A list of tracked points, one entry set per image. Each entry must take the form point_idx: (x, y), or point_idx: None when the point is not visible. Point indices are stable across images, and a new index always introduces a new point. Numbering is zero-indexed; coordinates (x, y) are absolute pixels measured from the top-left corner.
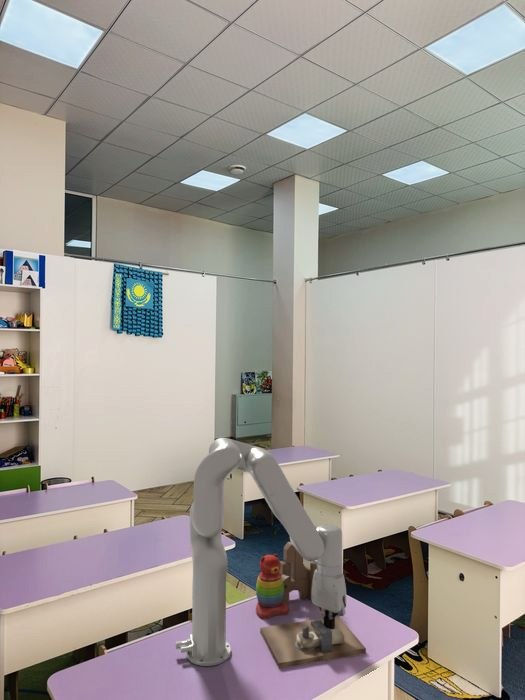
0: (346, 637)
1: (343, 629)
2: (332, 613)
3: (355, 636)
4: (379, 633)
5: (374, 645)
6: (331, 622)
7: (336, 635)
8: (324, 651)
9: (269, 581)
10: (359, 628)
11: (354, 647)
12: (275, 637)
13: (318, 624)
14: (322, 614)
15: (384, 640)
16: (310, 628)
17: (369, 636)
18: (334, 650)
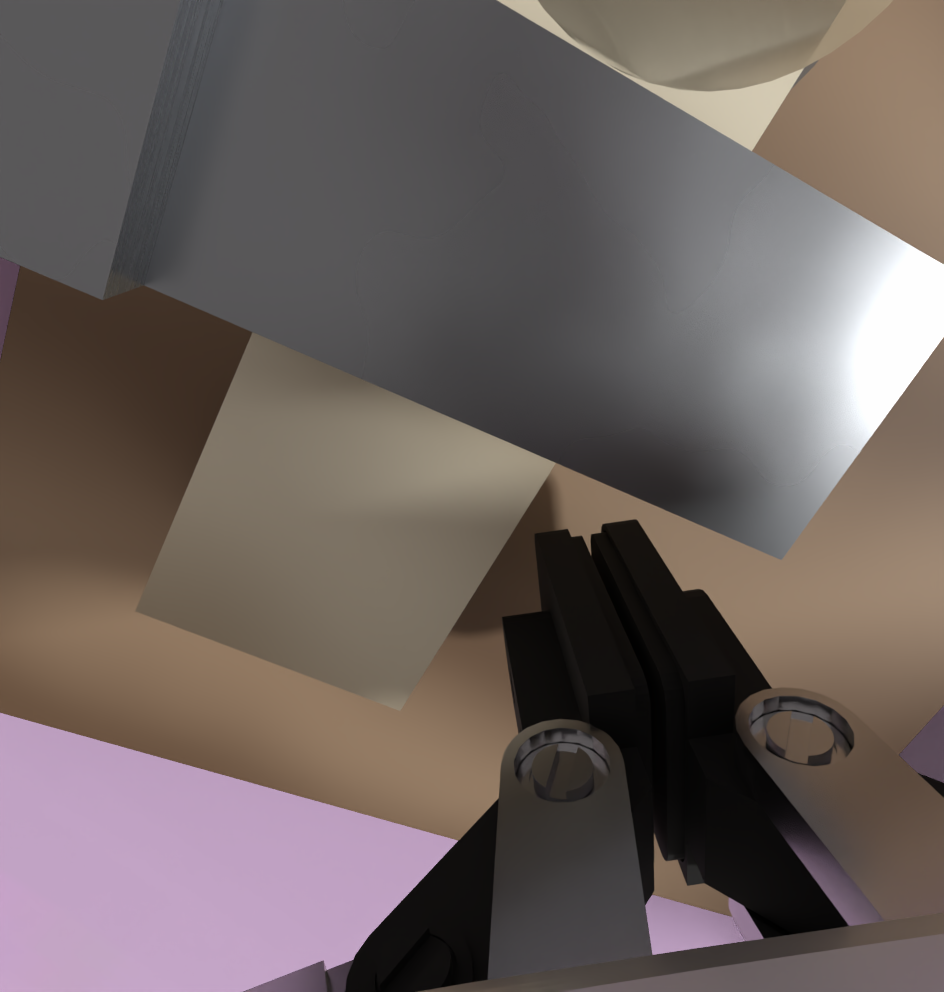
0: (321, 682)
1: (498, 781)
2: (490, 923)
3: (264, 782)
4: (244, 987)
5: (83, 825)
6: (530, 699)
7: (237, 503)
8: None
9: None
10: None
11: (29, 587)
12: None
13: (668, 324)
14: (838, 727)
15: (107, 947)
16: (906, 452)
17: (264, 895)
18: None
